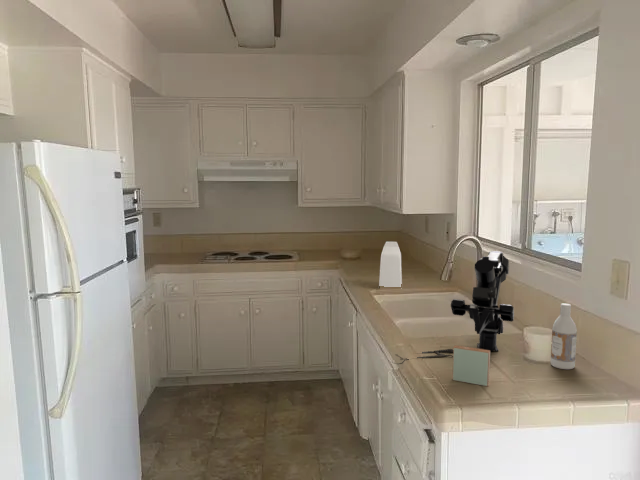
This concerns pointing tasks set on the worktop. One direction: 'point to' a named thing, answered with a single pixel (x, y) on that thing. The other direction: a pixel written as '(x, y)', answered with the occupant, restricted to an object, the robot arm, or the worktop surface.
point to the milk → (390, 266)
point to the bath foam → (564, 339)
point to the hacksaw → (434, 355)
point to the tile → (471, 365)
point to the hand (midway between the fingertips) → (478, 333)
